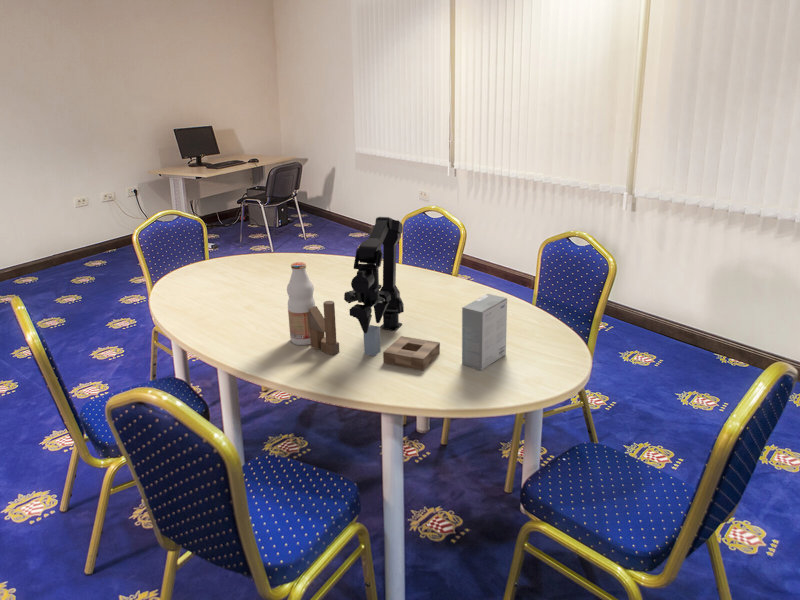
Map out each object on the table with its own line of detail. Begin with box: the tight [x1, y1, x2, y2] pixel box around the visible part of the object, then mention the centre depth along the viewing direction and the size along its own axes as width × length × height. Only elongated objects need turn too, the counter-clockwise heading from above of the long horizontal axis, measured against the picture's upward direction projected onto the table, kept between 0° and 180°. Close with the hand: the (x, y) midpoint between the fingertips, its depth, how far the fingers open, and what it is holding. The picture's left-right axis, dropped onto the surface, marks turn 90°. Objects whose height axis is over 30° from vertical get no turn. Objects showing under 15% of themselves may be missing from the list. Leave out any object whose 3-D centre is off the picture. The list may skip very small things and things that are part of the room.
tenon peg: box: [363, 324, 381, 357], centre depth 210 cm, size 4×4×9 cm
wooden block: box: [309, 300, 340, 356], centre depth 211 cm, size 4×11×18 cm, turn 48°
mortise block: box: [382, 335, 441, 371], centre depth 206 cm, size 14×14×4 cm
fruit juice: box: [286, 261, 316, 346], centre depth 217 cm, size 9×9×28 cm
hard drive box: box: [461, 293, 508, 371], centre depth 201 cm, size 16×8×20 cm, turn 141°
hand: (371, 327), depth 208 cm, fingers open, 9 cm apart
